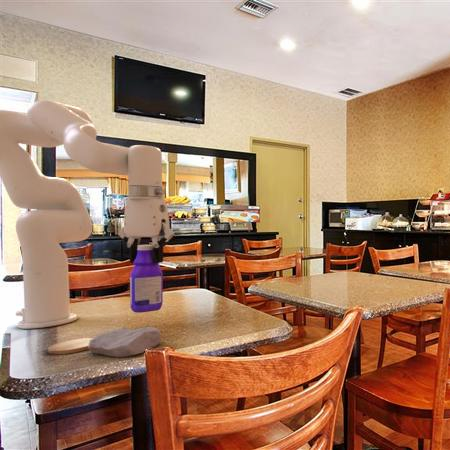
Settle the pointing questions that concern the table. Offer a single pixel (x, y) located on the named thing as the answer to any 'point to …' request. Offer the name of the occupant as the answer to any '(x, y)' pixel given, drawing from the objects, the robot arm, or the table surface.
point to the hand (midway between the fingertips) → (146, 261)
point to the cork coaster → (70, 346)
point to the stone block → (125, 341)
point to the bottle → (146, 282)
